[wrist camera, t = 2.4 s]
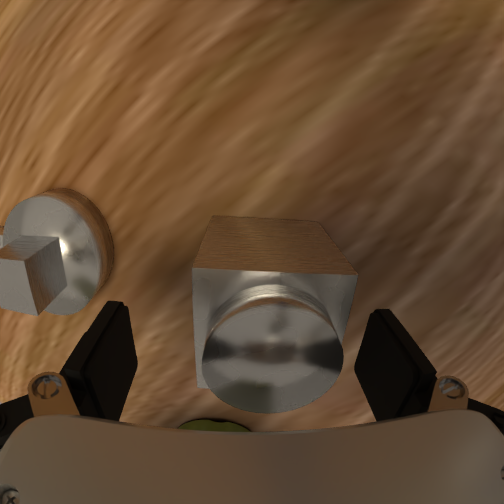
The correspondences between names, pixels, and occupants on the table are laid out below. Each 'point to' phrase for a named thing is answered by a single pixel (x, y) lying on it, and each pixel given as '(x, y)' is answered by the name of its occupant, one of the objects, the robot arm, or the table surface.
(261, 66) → the table surface
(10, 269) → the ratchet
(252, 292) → the socket
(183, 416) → the table surface
